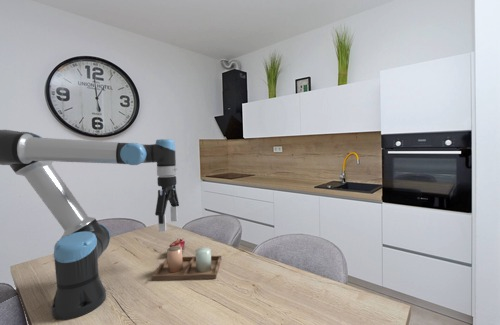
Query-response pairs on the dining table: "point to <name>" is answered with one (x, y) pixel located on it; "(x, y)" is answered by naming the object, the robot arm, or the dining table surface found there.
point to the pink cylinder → (175, 259)
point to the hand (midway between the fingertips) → (168, 225)
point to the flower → (179, 243)
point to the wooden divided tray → (187, 270)
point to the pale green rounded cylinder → (203, 259)
